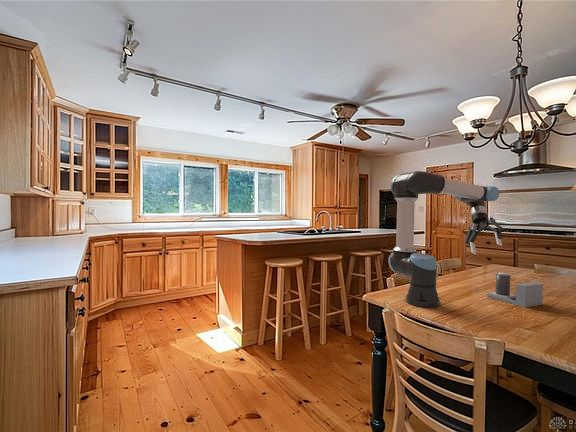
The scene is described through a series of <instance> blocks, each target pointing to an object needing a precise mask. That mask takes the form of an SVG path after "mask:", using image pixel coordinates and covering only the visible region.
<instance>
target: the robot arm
mask: <svg viewBox="0 0 576 432" xmlns="http://www.w3.org/2000/svg"><path fill="white" fill-rule="evenodd" d="M389 186H390V187H389V188H390V190H391V192H392V194H393V196H394V200H395V201H396V202H397V205H396V206H397V207H396V237H395V238H396V242H395V243H396V244H395V246H394V247H393V249H392V252H391V253H390V255H389V256H388V262H387V263H388V266H389V268H390V270H391V271H392V272H394V273H396V274H398V275H400V276H405V277H407V278H409V287H408V290H407V293H406V295H405V302H406V303H408V304H409V305H412V306H415V307H420V308H439V307H440V305H441V299H440V297H439V295H438V293H439V292H438V290H437V274H438V273H437V270H438V265H437V259H436V257H434V256H433V255H430V254H428V253H427V254H426V253H421V252H417V249H416V248H415V247H414V246H415V244H414V239H415V238H414V237H415V236H414V235H415V210H416V209H415V205H416V201H417V200H418V199H419V195H425V194H426V195H427V194H428V195H429V194H431V195H439V194H443V195H449V196H453V197H454V198H455V199H456V200H457V201H460V202H462V203H464V204H466V205H467V206H469V210H470V215H471V220H472V224H473V226H467V232H466V233H467V234H466V236H465V239H464V243H465V244H467V245H468V247H469V249H470V252H471V254H473V255H477V249H476V244H475V243H474V242H475V241H476V239H477V237H478V235H479V234H480V233H481V232H483V231H486V230H487V229H489V230H491V231H494V236H495V240H496V245H498V246H503V243H502V239H503V236H502V232H505V231H506V230H505V229H504V228H503V226H502V225H500V224H499V223H498V222H497V221H496V219H495V218H493V217H492V216H491V217H490V218H489V215H488V211H487V207H486V202H495V201H496V200H498V199H499V197H500V191H499V188H498V187H496V186H490V185H489V186H483V185H479V184H474V183H469V182H465V181H460V180H455V179H451V178H445V176H444V175H441V174H437V173H433V172H428V171H421V170H417V171H410V172H402V173H399V174H397V175H395V176H394V177H393V178H392V179H391V181H390V185H389ZM490 224H493V225H494V227H496V228H494V227H493V226H491V225H490Z"/></svg>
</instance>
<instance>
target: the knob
mask: <svg viewBox="0 0 576 432" xmlns="http://www.w3.org/2000/svg"><path fill="white" fill-rule="evenodd" d="M489 293H490V294H493V295H497V296H500V297H504V298H508V299H511V300H513V299H516V294H515V295H512V294H513V293H511V275H510V274H509V273H507V272H498V273H496V274H495V291H494V292H493V291H491V292H489ZM510 293H511V294H510Z"/></svg>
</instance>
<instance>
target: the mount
mask: <svg viewBox="0 0 576 432" xmlns="http://www.w3.org/2000/svg"><path fill="white" fill-rule="evenodd" d="M490 293H491V292H489V293H487V294H486V297H488V298H492V299H494V300H497V301H501V302H505V303H508V304H512V305H515V306H518V307H522V308H530V307H535V306H541V305H543V302H544V301H543V299H544V298H543V297H544V283H540V282H535V281H530V282H522V283H516V284H515V293H511V292H510V294H512V295H516V298H515V300H514V299H508V298H504V297H500V296H497V295H493V294H490Z"/></svg>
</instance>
